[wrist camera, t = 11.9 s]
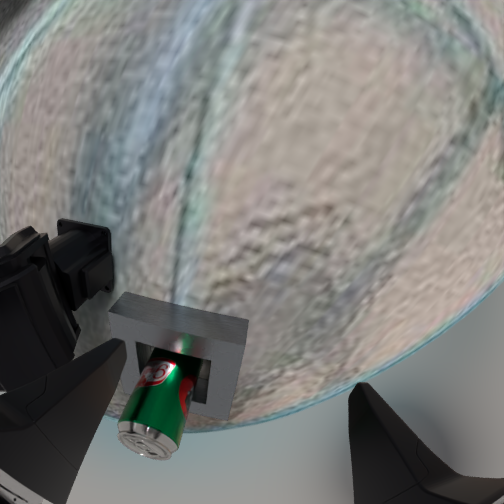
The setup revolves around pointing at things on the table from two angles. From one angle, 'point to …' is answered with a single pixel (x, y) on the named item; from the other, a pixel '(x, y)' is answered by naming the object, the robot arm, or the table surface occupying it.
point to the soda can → (160, 404)
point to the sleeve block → (182, 346)
